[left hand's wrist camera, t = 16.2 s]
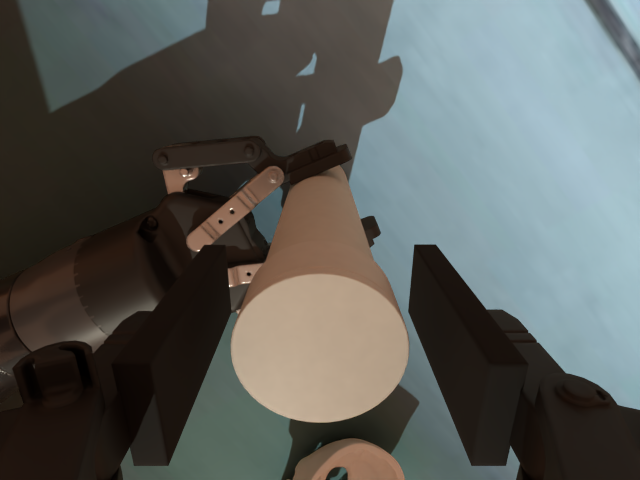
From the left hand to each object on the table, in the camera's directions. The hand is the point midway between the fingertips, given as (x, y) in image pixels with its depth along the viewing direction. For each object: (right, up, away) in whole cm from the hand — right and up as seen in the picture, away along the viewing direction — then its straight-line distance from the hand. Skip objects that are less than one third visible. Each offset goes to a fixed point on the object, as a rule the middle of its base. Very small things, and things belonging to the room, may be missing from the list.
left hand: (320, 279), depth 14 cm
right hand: (+2, +4, +9) cm, 10 cm away
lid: (0, -1, -4) cm, 4 cm away
